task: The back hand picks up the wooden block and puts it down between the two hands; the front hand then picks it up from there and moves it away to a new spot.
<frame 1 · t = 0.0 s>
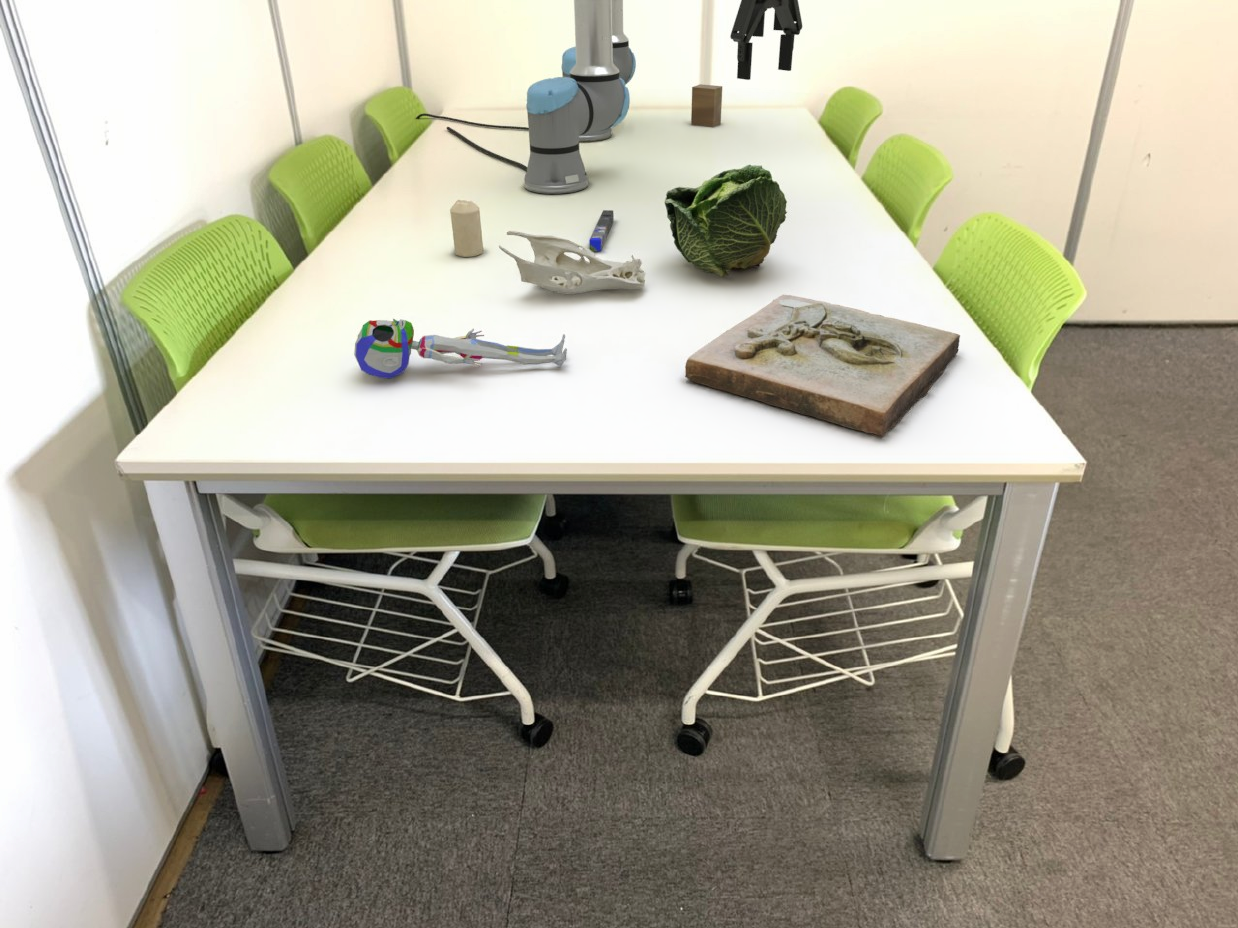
front hand: (764, 74, 179), 28 cm above the table, tool pointing down, fingers open, 13 cm apart
back hand: (768, 33, 233), 28 cm above the table, tool pointing down, fingers open, 13 cm apart
block: (705, 124, 271), on the table
candle: (469, 253, 175), on the table
plaque: (825, 367, 131), on the table
toy: (464, 369, 132), on the table
anatomical model: (574, 288, 159), on the table
blue capped marker: (602, 236, 183), on the table
vegetable: (723, 269, 166), on the table
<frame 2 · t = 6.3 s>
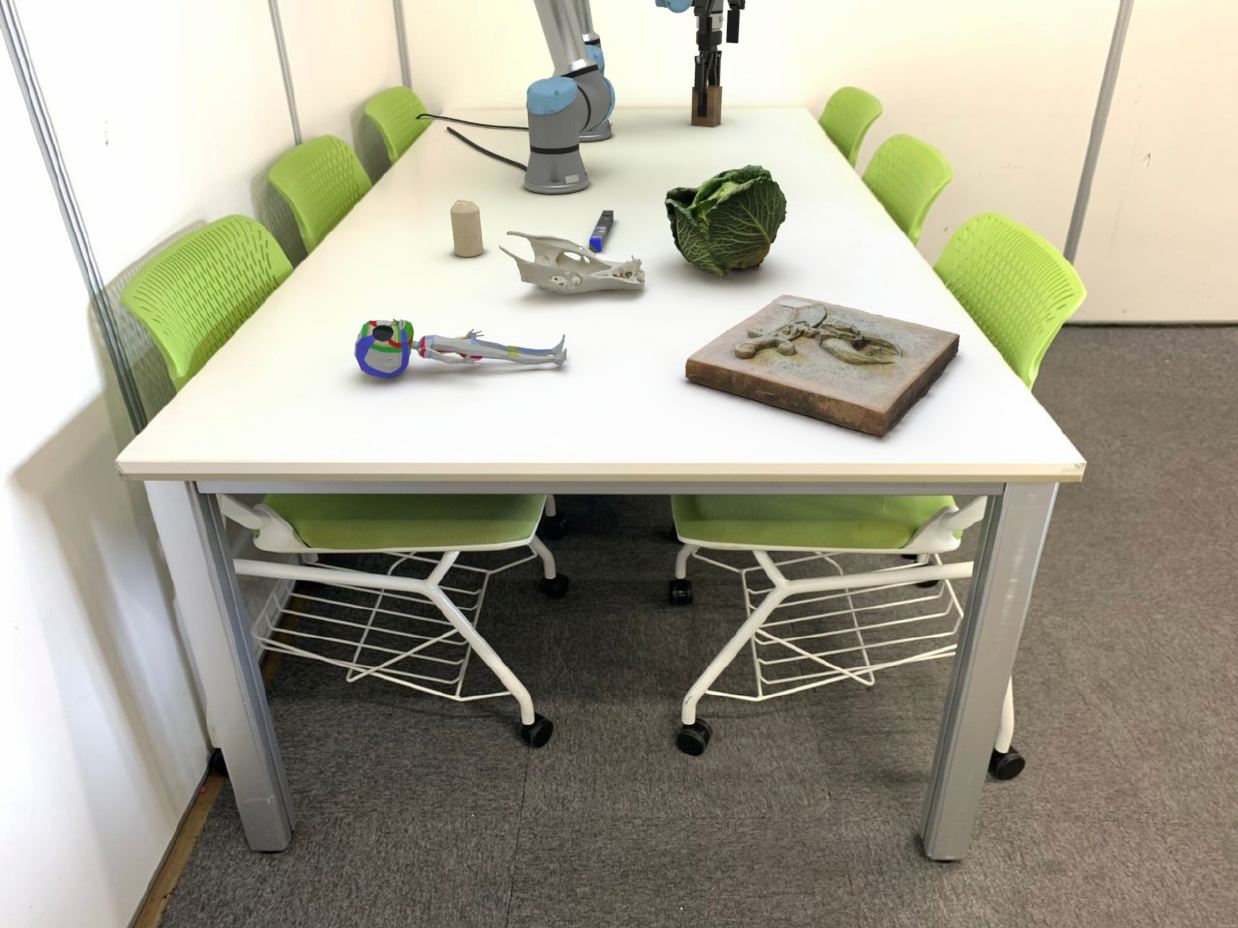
front hand: (718, 47, 194), 31 cm above the table, tool pointing down, fingers open, 13 cm apart
back hand: (706, 114, 270), 3 cm above the table, tool pointing down, fingers closed on block, 5 cm apart
block: (705, 124, 271), on the table, touching back hand
everything else where it was.
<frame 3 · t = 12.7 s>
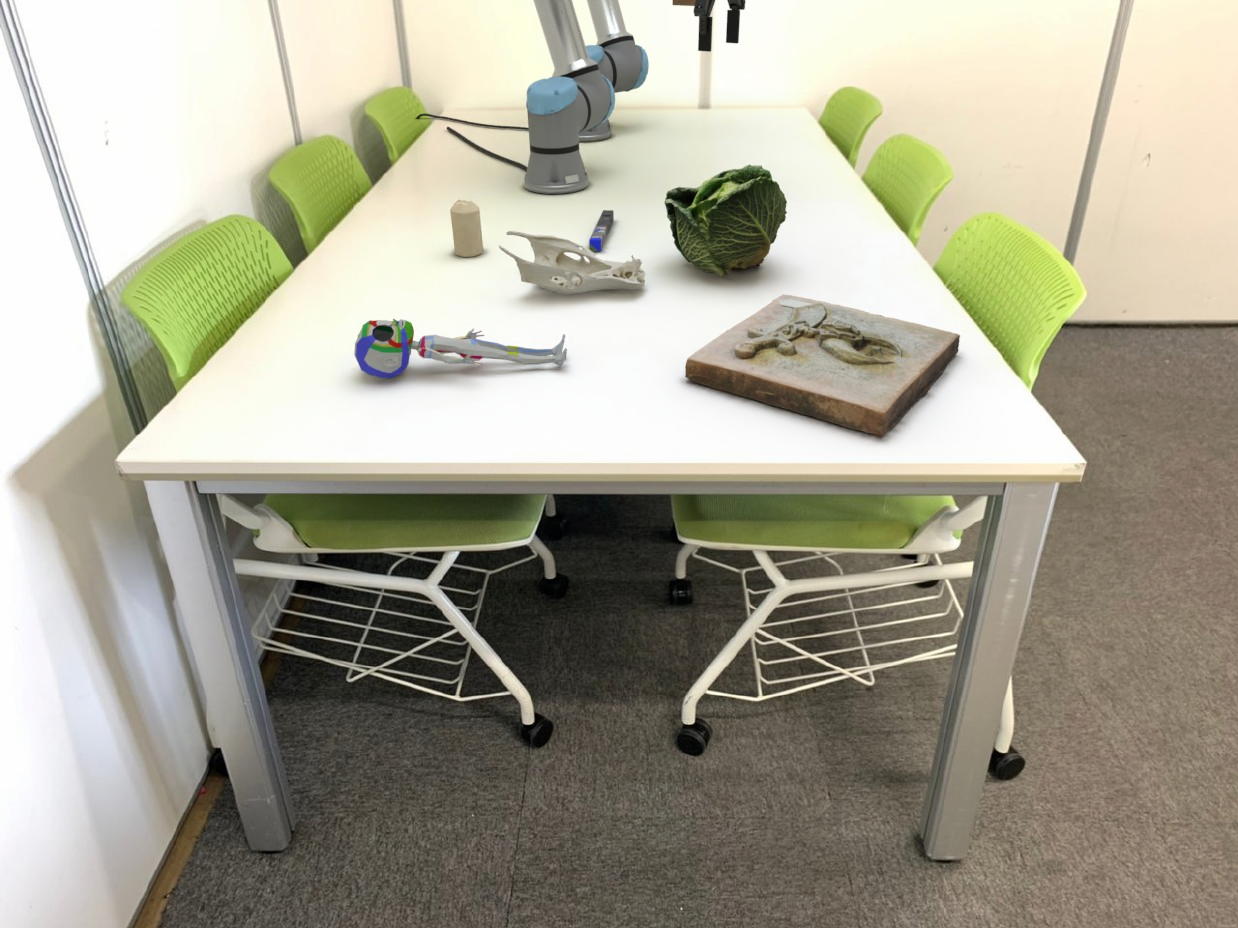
front hand: (718, 47, 194), 31 cm above the table, tool pointing down, fingers open, 13 cm apart
block: (689, 5, 229), point 35 cm above the table, touching back hand
everything else where it was.
when the back hand's fingers open (4 cm above the table, at t = 19.0 s): block drops 2 cm, on the table.
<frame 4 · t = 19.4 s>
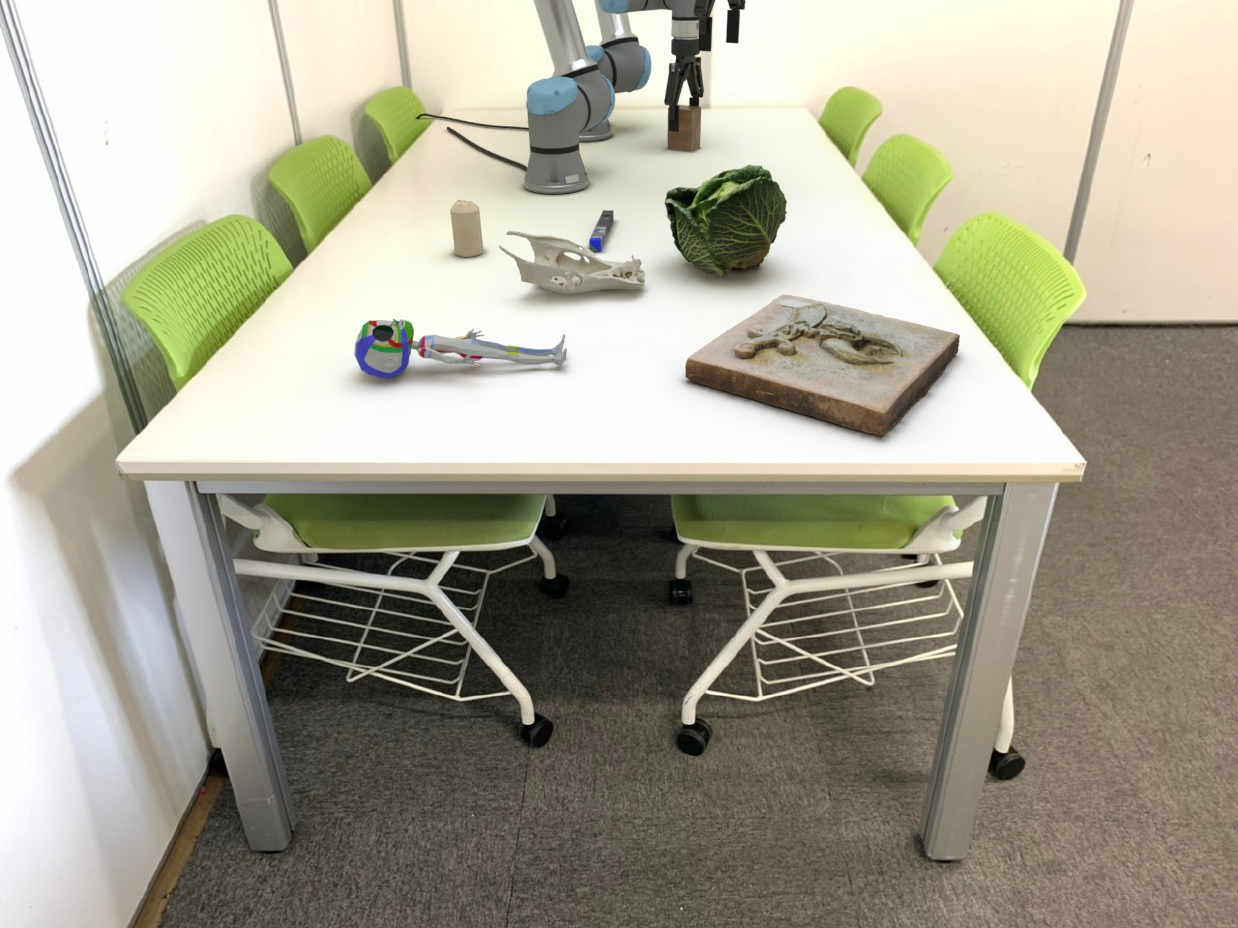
front hand: (718, 47, 194), 31 cm above the table, tool pointing down, fingers open, 13 cm apart
back hand: (683, 127, 242), 6 cm above the table, tool pointing down, fingers open, 11 cm apart
block: (683, 148, 245), on the table
everything else where it was.
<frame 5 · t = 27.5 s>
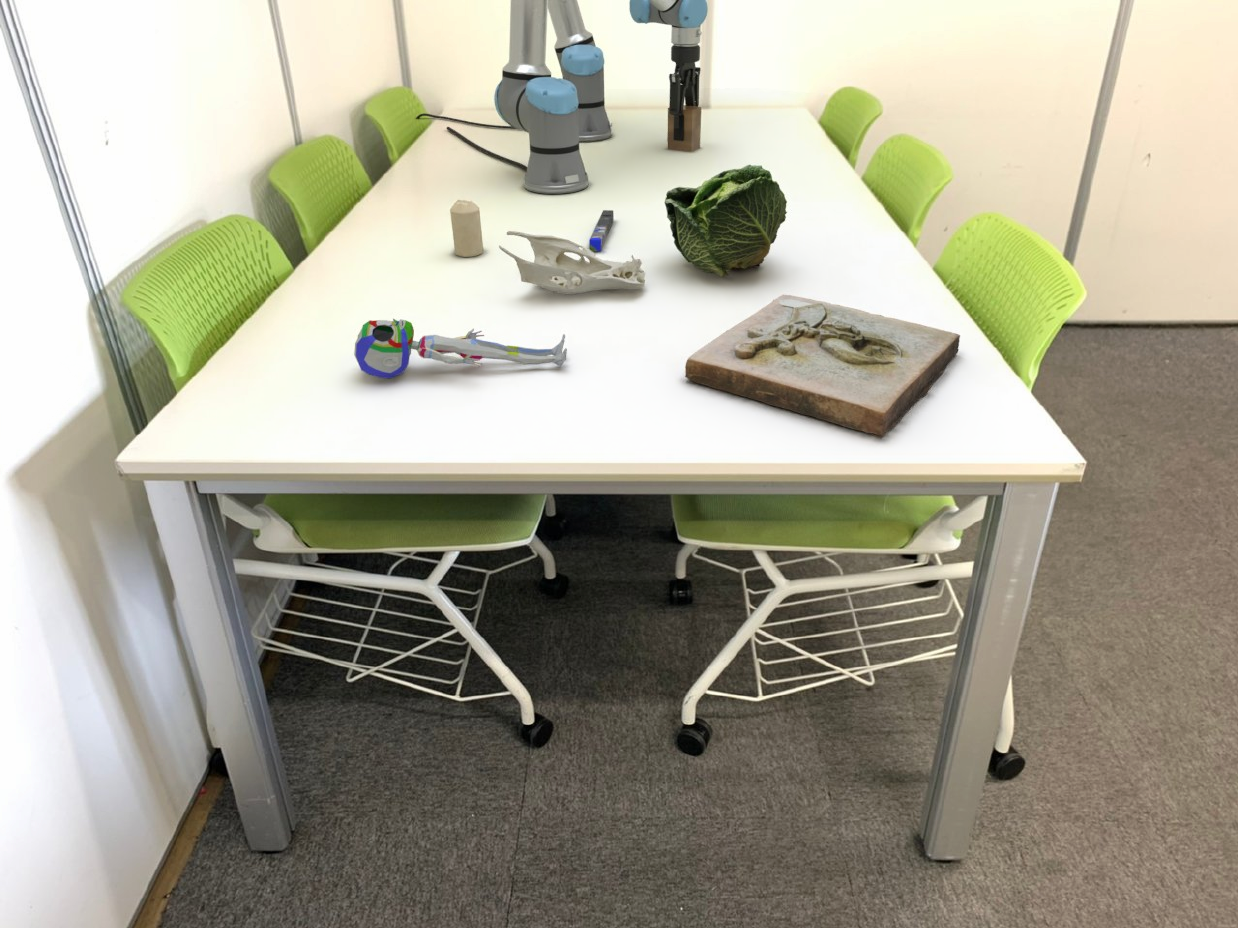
front hand: (683, 138, 244), 3 cm above the table, tool pointing down, fingers closed on block, 5 cm apart
block: (683, 148, 245), on the table, touching front hand
everything else where it was.
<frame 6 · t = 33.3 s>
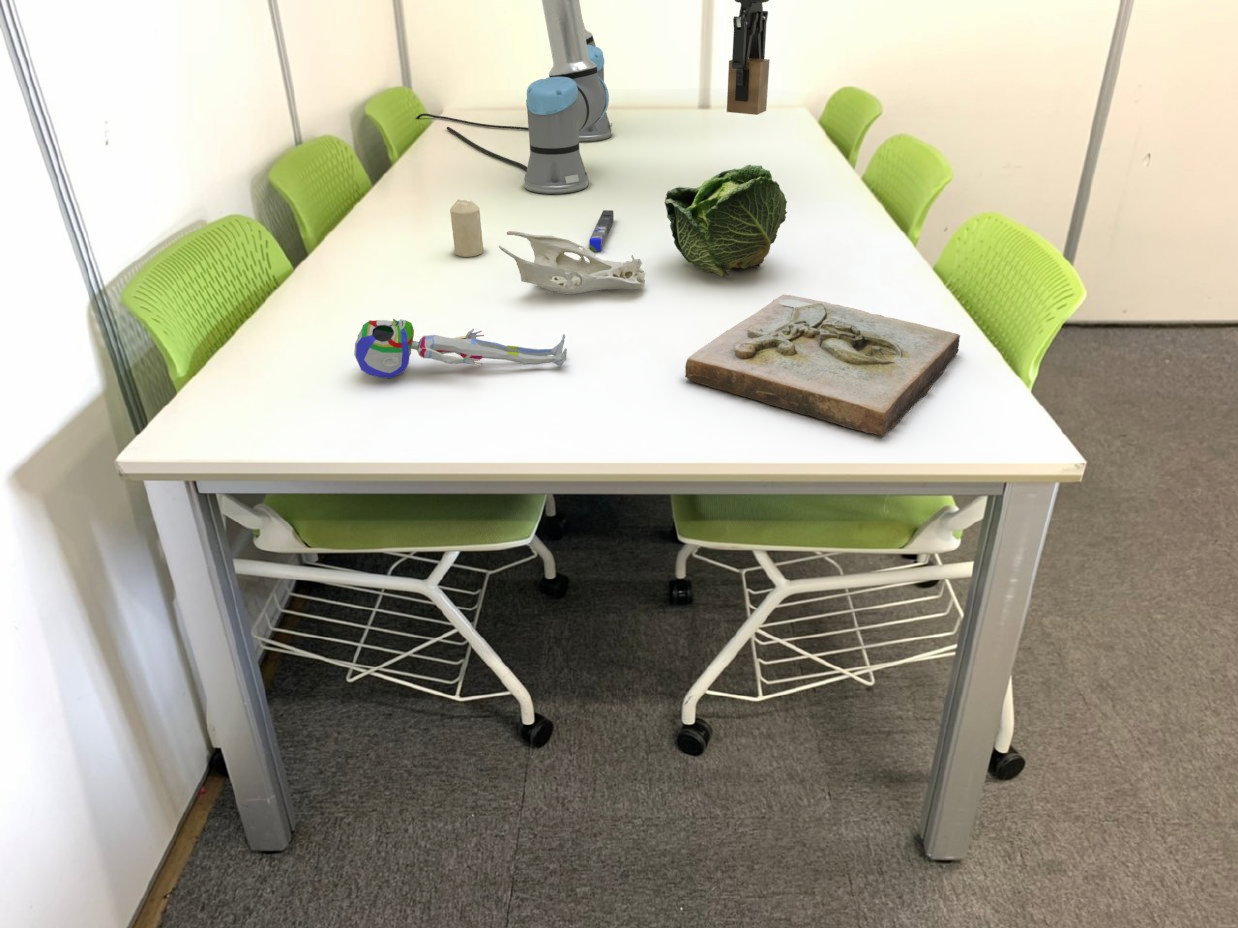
front hand: (746, 98, 201), 20 cm above the table, tool pointing down, fingers closed on block, 5 cm apart
block: (746, 111, 202), point 17 cm above the table, touching front hand
everything else where it was.
when the front hand's fingers open (4 cm above the table, at t = 39.1 s): block drops 2 cm, on the table.
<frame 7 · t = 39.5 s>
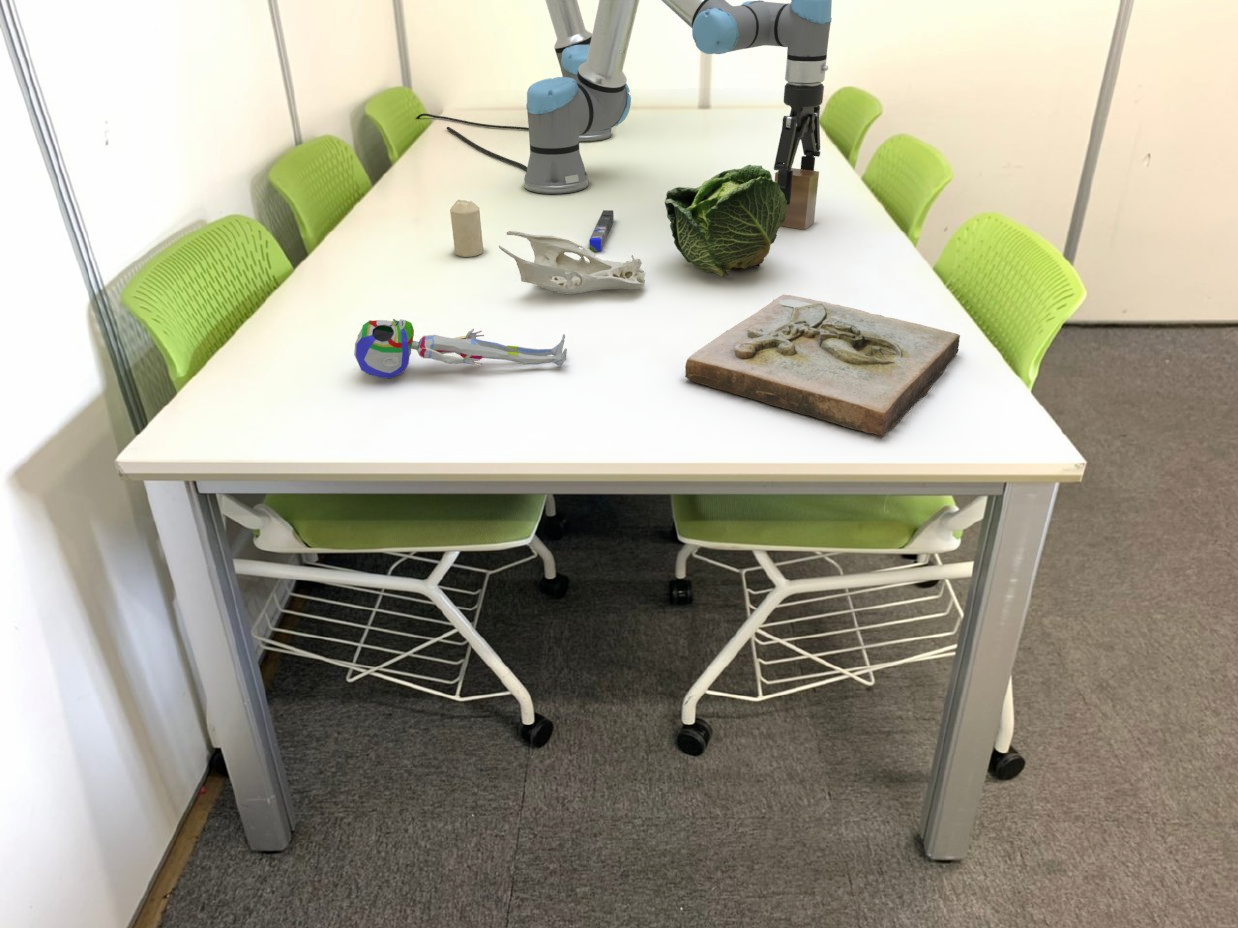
front hand: (794, 196, 185), 6 cm above the table, tool pointing down, fingers open, 11 cm apart
block: (792, 224, 188), on the table
everything else where it was.
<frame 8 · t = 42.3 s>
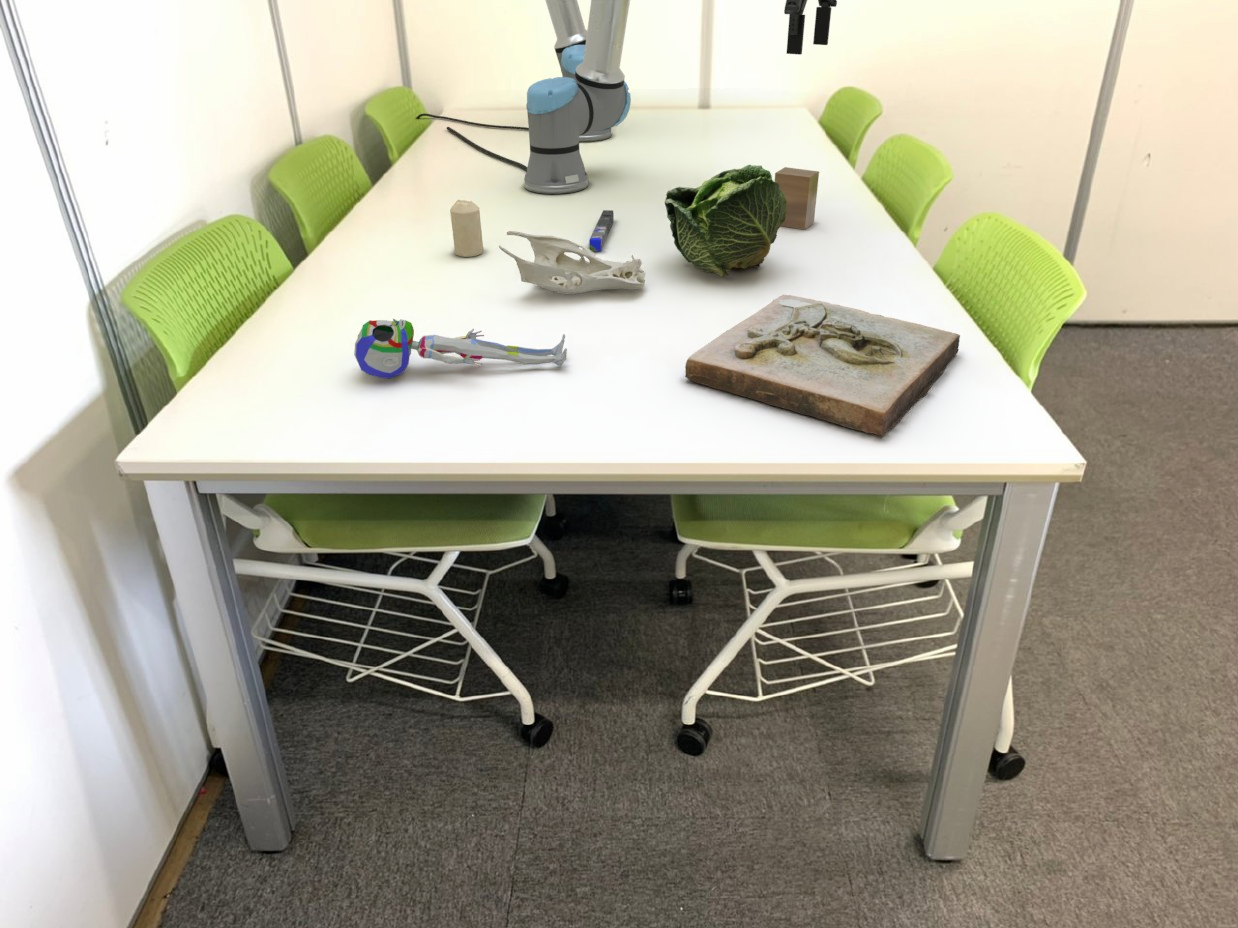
front hand: (807, 49, 170), 33 cm above the table, tool pointing down, fingers open, 13 cm apart
nothing on the table moved.
at the end: block inside the target area (0.1 cm from its centre), on the table; block tilted 0°; the two hands never held the block at the same time; the front hand is holding nothing; the back hand is holding nothing; block at rest at the end (0.0 cm/s) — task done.
